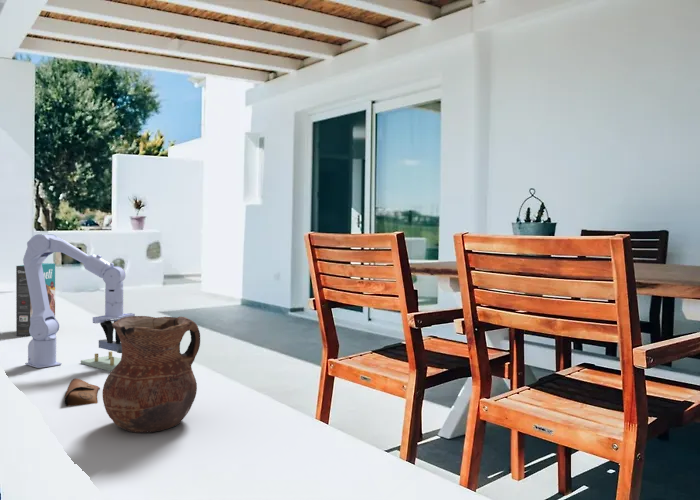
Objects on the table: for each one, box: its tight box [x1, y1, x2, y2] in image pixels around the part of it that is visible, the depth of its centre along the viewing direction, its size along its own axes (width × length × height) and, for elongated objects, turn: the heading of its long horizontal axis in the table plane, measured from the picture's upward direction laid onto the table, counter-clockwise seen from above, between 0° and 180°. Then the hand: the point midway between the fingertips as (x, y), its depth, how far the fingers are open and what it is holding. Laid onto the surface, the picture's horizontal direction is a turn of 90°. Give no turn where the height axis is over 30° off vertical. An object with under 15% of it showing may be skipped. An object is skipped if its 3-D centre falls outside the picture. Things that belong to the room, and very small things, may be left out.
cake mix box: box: [15, 262, 56, 337], centre depth 279 cm, size 22×6×30 cm, turn 179°
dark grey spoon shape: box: [98, 338, 122, 354], centre depth 213 cm, size 15×4×3 cm, turn 52°
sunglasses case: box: [64, 378, 101, 407], centre depth 173 cm, size 18×7×7 cm, turn 21°
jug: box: [102, 315, 201, 434], centre depth 150 cm, size 22×21×25 cm
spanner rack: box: [80, 350, 121, 372], centre depth 214 cm, size 20×11×4 cm, turn 52°
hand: (114, 342), depth 213 cm, fingers closed on dark grey spoon shape, 2 cm apart
